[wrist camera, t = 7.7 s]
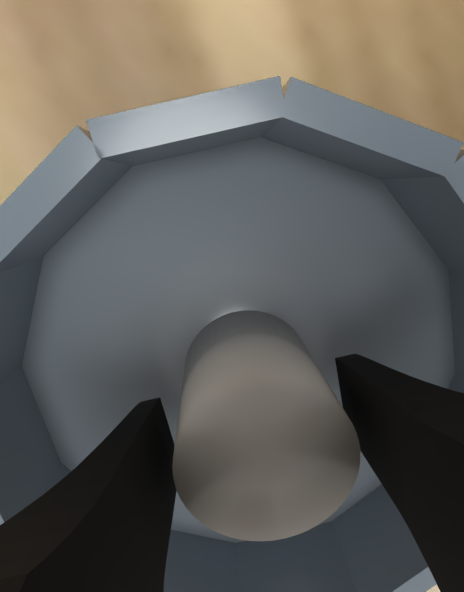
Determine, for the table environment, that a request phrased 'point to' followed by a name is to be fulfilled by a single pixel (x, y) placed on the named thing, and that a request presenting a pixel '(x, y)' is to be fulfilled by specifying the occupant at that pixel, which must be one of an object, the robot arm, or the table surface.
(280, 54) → the table surface
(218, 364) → the pebble
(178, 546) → the bowl
